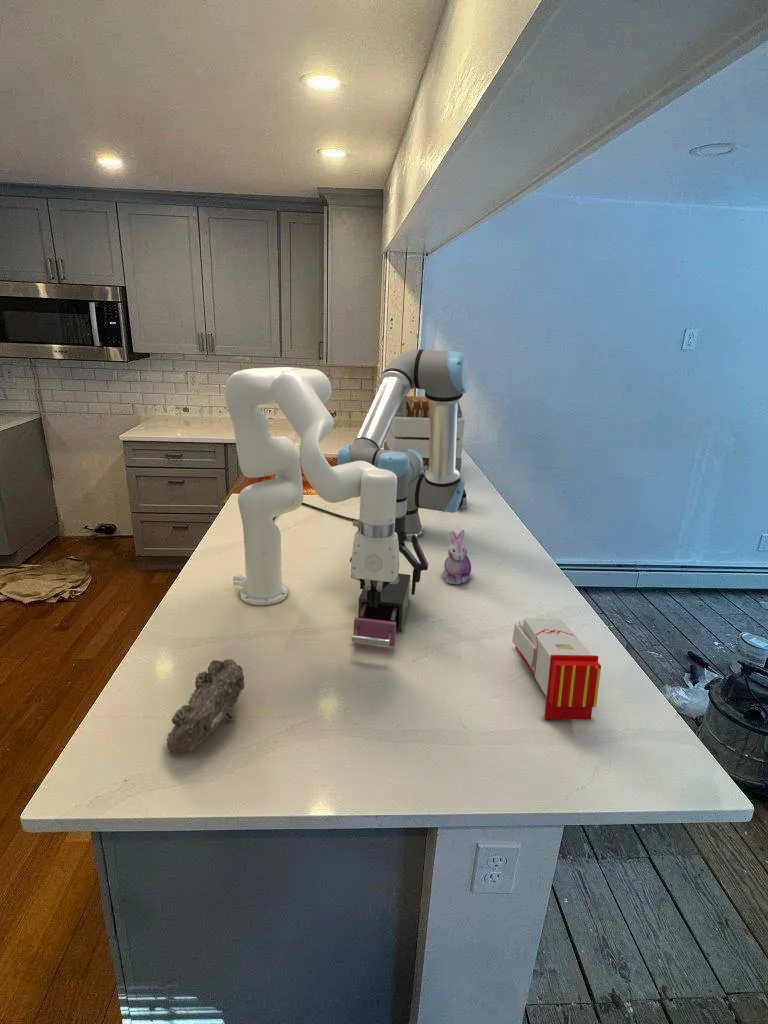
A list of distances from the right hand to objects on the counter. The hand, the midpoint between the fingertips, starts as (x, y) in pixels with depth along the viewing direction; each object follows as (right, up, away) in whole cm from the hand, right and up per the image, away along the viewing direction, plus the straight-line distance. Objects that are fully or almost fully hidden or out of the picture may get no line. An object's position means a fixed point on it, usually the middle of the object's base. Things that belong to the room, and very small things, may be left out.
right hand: (387, 589), depth 149 cm
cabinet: (-1, -6, -1) cm, 6 cm away
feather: (-41, +19, +63) cm, 77 cm away
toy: (+35, -16, -25) cm, 46 cm away
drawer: (-3, -9, -13) cm, 16 cm away
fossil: (-34, -19, -41) cm, 56 cm away
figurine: (+21, +1, +19) cm, 28 cm away
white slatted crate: (+16, +39, +126) cm, 133 cm away
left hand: (-3, 0, -23) cm, 23 cm away
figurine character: (+29, +23, +81) cm, 89 cm away
